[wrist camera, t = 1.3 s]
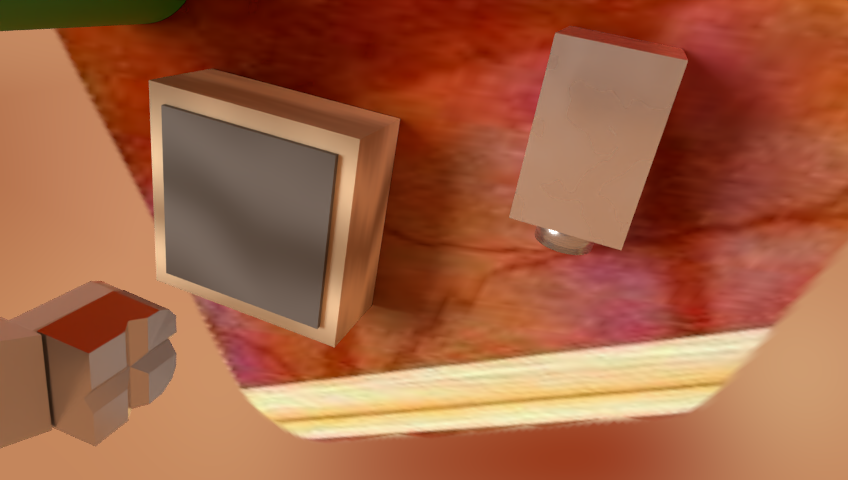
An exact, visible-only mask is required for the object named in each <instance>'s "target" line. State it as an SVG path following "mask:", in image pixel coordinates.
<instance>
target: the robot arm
mask: <svg viewBox="0 0 848 480" xmlns="http://www.w3.org/2000/svg"><path fill="white" fill-rule="evenodd" d="M175 333H176V315H175V314H173V313H172V312H171V311H170V310H169V309H166V308H164V307H162V306H159V305H157V304H155V303H152V302H150V301H148V300H146V299H143V298H141V297H138V296H136V295H134V294H132V293H129V292H127V291H125V290H120V289H118V288H116V287H114V286H112V285H109V284H107V283H105V282H102V281H90V282H88V283H86V284H84V285H81V286H79V287H77V288H75V289H73V290H71V291H69V292H67V293H65V294H63V295H61V296H59V297H57V298H54V299H52V300H50V301H48V302H46V303H44V304H42V305H40V306H38V307H36V308H34V309H32V310H29V311H27V312H25V313H23V314H21V315H19V316H17V317H15V318H13V319H11V320H7V319H5V318H2V317H0V448H3V447H5V446H8V445H11V444H14V443H17V442H20V441H22V440H25V439H28V438H31V437H34V436H37V435H39V434H42V433H45V432H48V431H51V430H52V427H53V428H55V429H57V430H60V431H62V432H64V433H66V434H69V435H71V436H73V437H75V438H78V439H80V440H82V441H84V442H87V443H89V444H92V445H93V446H97V445H98V444H99V443H100V442H102V441H103V440H104V439H105V438H107V437H108V436H109V435H110V434H112V433H113V432H114V431H116V430H117V429H118V428H119V427H121V426H122V425H123V424H124V423H126V422H127V421H128V420H129V415H130V412H131V409H133V408H136V407H140V406H144V405H148V404H150V403H151V402H152V401H153V400H155V399H156V398H157V397H158V396H159V395H161V394H162V393H163V391H164V390H165V388H166V387H167V385H168V384H169V382H170V381H171V379H172V377H173V374H174V371H175V367H176V352H175V350H174V348H173V346H172V344H171V342H170V340H169V339H170V338H171V337H172V336H173V335H174V334H175Z"/></svg>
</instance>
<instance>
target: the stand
mask: <svg viewBox="0 0 848 480" xmlns="http://www.w3.org/2000/svg"><path fill="white" fill-rule="evenodd" d="M149 98H150V124H151V150H152V176H153V202H154V228H155V252H156V253H155V254H156V279H157V281H160V282H163V283H165V284H168V285H171V286H173V287H176V288H179V289H181V290H184V291H187V292H189V293H192V294H195V295H197V296H200V297H203V298H205V299H208V300H211V301H213V302H216V303H218V304H221V305H224V306H226V307H229V308H232V309H234V310H237V311H240V312H242V313H245V314H248V315H250V316H253V317H256V318H258V319H261V320H264V321H266V322H269V323H271V324H274V325H277V326H279V327H282V328H285V329H287V330H290V331H293V332H295V333H298V334H301V335H303V336H306V337H309V338H311V339H314V340H317V341H319V342H322V343H324V344H327V345H330V346H332V347H335V346H336V345H337V344H338V343H339V341H340V340H341V339H342V338H343V337H344V336H345V335H346V334H347V333H348V331H349V330H350V329H351V328H352V327H353V326H354V325H355V324H356V322H357V321H358V320H359V319H360V318H361V317H362V316H363V315H364V314H365V312H366V311H367V310H368V309H369V308H370V307H371V306H372V301H373V295H374V288H375V282H376V275H377V268H378V262H379V255H380V249H381V242H382V236H383V229H384V223H385V216H386V210H387V203H388V196H389V190H390V183H391V177H392V170H393V164H394V157H395V151H396V144H397V137H398V131H399V124H400V119H399V118H396V117H392V116H388V115H384V114H381V113H377V112H373V111H369V110H366V109H362V108H358V107H354V106H351V105H347V104H343V103H339V102H336V101H332V100H328V99H324V98H321V97H317V96H313V95H309V94H306V93H302V92H298V91H294V90H291V89H287V88H283V87H279V86H276V85H272V84H268V83H264V82H261V81H257V80H253V79H249V78H246V77H242V76H238V75H234V74H231V73H227V72H223V71H219V70H215V69H207V70H202V71H196V72H191V73H185V74H180V75H174V76H169V77H163V78H158V79H152V80H149Z"/></svg>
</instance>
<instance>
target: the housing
mask: <svg viewBox="0 0 848 480" xmlns="http://www.w3.org/2000/svg"><path fill="white" fill-rule="evenodd" d="M687 63H688V59H687V57H686V54H685V52H684V50H683V49H682V48H677V47H672V46H667V45H662V44H657V43H653V42H648V41H643V40H638V39H633V38H628V37H623V36H619V35H614V34H609V33H604V32H599V31H594V30H589V29H585V28H580V27H575V26H569V27H567V28H565V29H563V30H560V31H558V32H556V33H555V37H554V41H553V45H552V49H551V53H550V57H549V60H548V64H547V68H546V72H545V76H544V80H543V84H542V88H541V92H540V96H539V100H538V104H537V108H536V112H535V116H534V120H533V124H532V128H531V132H530V136H529V140H528V144H527V148H526V152H525V156H524V160H523V164H522V168H521V172H520V176H519V180H518V184H517V188H516V192H515V196H514V200H513V204H512V208H511V212H510V216H509V218H512V219H515V220H519V221H522V222H526V223H529V224H532V225H536V226H537V227H536V231H535V237H536V239H537V240H538V241H539V242H540V243H541V244H543V245H544V246H546V247H548V248H550V249H552V250H555V251H558V252H561V253H566V254H572V255H583V254H587V253H589V252H590V251H591V250H592V247H593V244H594V243H598V244H601V245H604V246H608V247H611V248H615V249H618V250H622V247H623V244H624V241H625V239H626V236H627V233H628V230H629V227H630V224H631V222H632V219H633V216H634V213H635V210H636V207H637V205H638V202H639V199H640V196H641V193H642V190H643V188H644V185H645V182H646V179H647V176H648V173H649V171H650V168H651V165H652V162H653V159H654V156H655V153H656V151H657V148H658V145H659V142H660V139H661V136H662V134H663V131H664V128H665V125H666V122H667V119H668V117H669V114H670V111H671V108H672V105H673V102H674V100H675V97H676V94H677V91H678V88H679V85H680V83H681V80H682V77H683V74H684V71H685V68H686V66H687Z"/></svg>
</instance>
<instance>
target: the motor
mask: <svg viewBox="0 0 848 480" xmlns="http://www.w3.org/2000/svg"><path fill="white" fill-rule="evenodd" d="M185 1H186V0H0V31H11V30H32V29H51V28H71V27H91V26H111V25H131V24H148V23H155V22H158V21H161V20H163V19H166V18H167V17H169V16H171V15H172V14H174V13H175V12H176V11H177V10H178V9H179V8H180V7H181V6H182V5H183V4H184V3H185Z"/></svg>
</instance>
